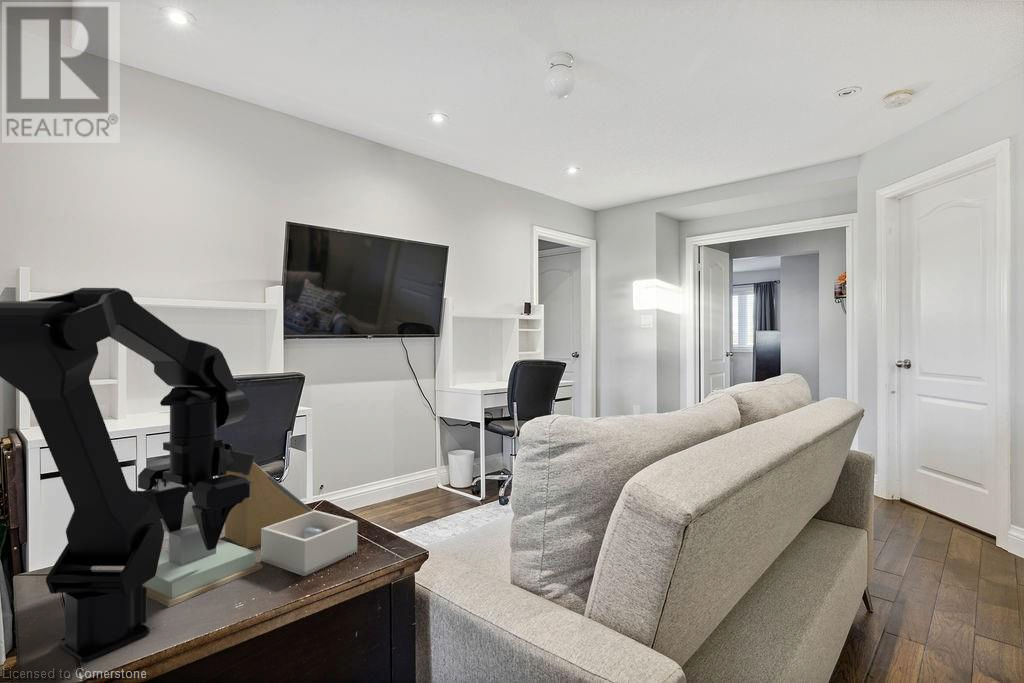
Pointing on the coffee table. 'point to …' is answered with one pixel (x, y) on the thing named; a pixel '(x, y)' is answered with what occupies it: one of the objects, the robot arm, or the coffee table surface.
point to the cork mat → (172, 601)
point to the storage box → (308, 542)
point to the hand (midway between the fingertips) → (192, 542)
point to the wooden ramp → (261, 508)
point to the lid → (196, 563)
